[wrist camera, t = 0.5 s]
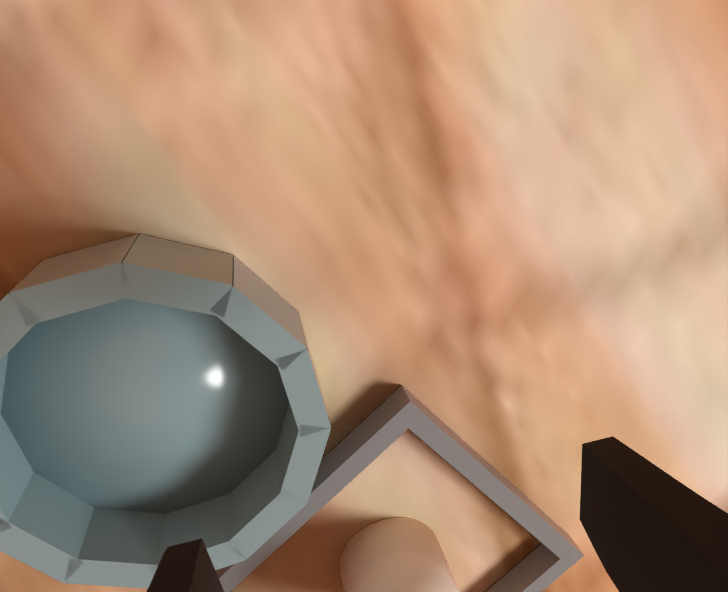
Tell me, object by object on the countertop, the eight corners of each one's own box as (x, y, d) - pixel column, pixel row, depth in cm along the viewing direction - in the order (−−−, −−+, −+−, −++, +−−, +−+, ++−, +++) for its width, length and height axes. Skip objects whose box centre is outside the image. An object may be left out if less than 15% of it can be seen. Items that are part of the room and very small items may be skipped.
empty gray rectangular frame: (381, 697, 28) (387, 722, 27) (184, 587, 23) (182, 612, 22) (569, 535, 27) (583, 555, 26) (401, 385, 22) (410, 401, 21)
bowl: (173, 567, 23) (164, 635, 20) (-101, 411, 19) (-159, 469, 16) (374, 378, 22) (394, 422, 19) (132, 165, 17) (112, 182, 15)
